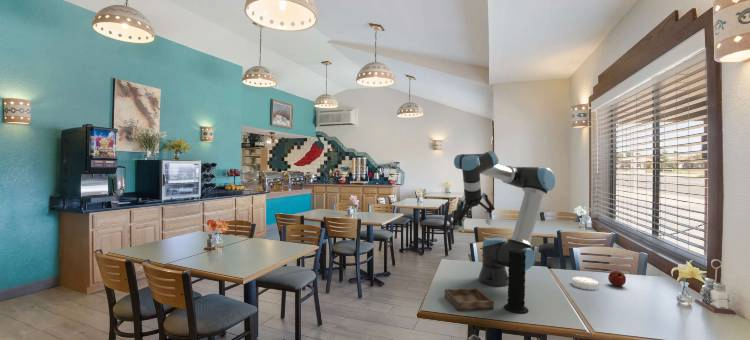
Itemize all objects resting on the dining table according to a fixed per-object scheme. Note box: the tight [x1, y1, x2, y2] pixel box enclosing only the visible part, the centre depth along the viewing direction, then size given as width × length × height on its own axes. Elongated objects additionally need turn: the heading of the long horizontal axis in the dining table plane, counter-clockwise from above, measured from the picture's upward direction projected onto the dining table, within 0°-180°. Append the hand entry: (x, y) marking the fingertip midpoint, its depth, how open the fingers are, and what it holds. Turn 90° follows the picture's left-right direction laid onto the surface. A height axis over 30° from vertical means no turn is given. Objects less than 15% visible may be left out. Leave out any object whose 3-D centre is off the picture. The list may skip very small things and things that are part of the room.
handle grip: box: [503, 248, 530, 315], centre depth 149 cm, size 10×26×10 cm
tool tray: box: [444, 287, 494, 312], centre depth 155 cm, size 16×16×4 cm
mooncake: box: [571, 276, 600, 291], centre depth 179 cm, size 12×12×4 cm
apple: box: [607, 270, 627, 287], centre depth 180 cm, size 7×8×8 cm
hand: (475, 227), depth 167 cm, fingers open, 13 cm apart
